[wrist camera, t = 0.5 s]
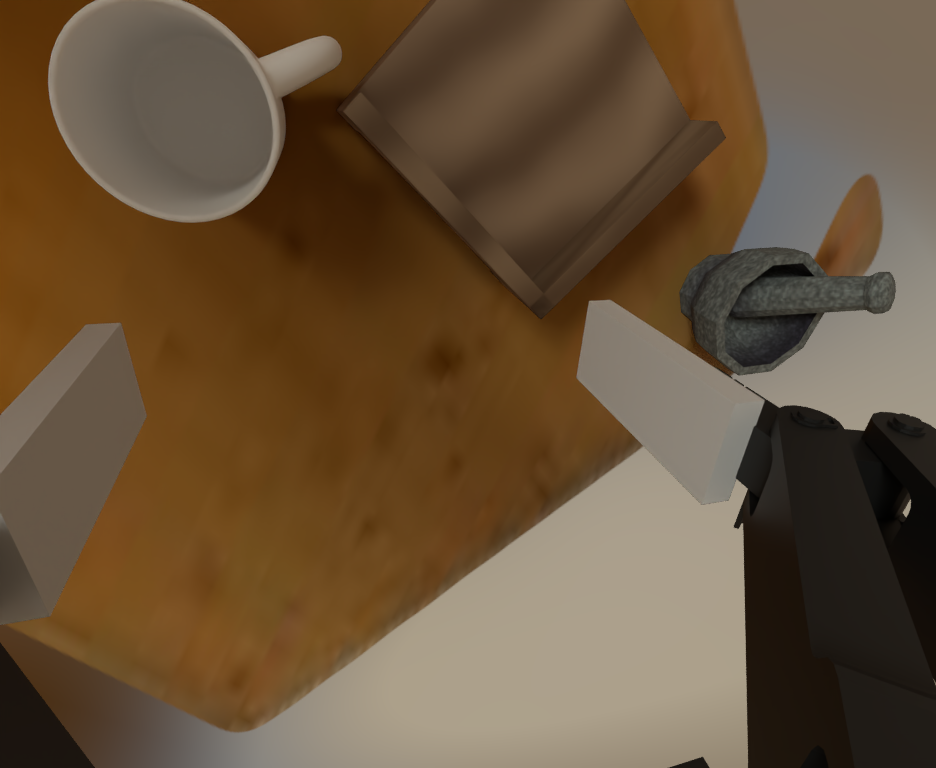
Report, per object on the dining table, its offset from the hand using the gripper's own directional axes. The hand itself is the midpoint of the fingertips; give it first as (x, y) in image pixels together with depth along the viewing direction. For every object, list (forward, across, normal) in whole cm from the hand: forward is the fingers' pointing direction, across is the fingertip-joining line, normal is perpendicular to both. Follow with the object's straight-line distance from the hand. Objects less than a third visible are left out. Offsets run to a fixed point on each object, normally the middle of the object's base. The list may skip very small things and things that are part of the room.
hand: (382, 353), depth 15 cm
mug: (+22, -5, +6) cm, 24 cm away
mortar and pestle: (+22, +31, -6) cm, 39 cm away
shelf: (+22, +11, +6) cm, 26 cm away
